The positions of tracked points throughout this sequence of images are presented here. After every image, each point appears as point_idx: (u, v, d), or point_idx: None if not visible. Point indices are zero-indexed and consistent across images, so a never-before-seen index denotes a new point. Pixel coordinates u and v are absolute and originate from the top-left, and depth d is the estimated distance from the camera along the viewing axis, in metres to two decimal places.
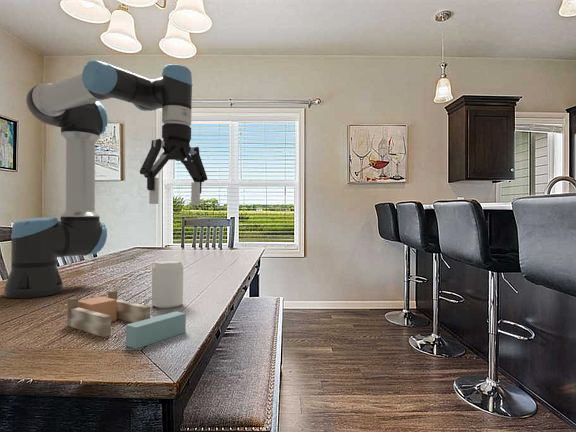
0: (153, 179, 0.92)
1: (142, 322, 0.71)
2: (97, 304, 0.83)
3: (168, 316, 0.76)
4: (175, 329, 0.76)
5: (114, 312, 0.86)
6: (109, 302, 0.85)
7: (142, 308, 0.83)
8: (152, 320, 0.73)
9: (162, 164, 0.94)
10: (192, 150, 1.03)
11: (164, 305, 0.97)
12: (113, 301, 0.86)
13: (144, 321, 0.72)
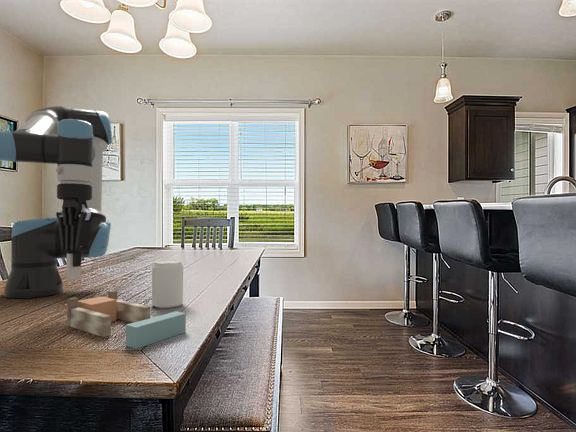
0: None
1: (142, 322, 0.71)
2: (97, 304, 0.83)
3: (168, 316, 0.76)
4: (175, 329, 0.76)
5: (114, 312, 0.86)
6: (109, 302, 0.85)
7: (142, 308, 0.83)
8: (152, 320, 0.73)
9: (66, 235, 0.90)
10: None
11: (164, 305, 0.97)
12: (113, 301, 0.86)
13: (144, 321, 0.72)
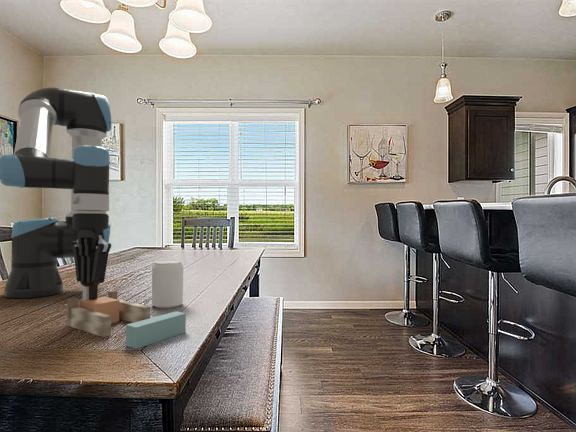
0: (84, 287, 0.87)
1: (142, 322, 0.71)
2: (100, 304, 0.82)
3: (168, 316, 0.76)
4: (175, 329, 0.76)
5: (117, 312, 0.86)
6: (112, 302, 0.84)
7: (142, 308, 0.83)
8: (152, 320, 0.73)
9: (82, 266, 0.87)
10: None
11: (164, 305, 0.97)
12: (116, 301, 0.85)
13: (144, 321, 0.72)
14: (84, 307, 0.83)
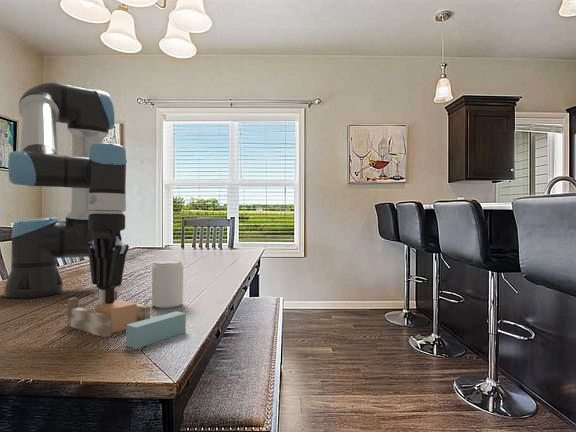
0: None
1: (142, 322, 0.71)
2: (117, 309, 0.79)
3: (168, 316, 0.76)
4: (175, 329, 0.76)
5: (134, 317, 0.82)
6: (129, 306, 0.81)
7: (142, 308, 0.83)
8: (152, 320, 0.73)
9: (98, 268, 0.83)
10: None
11: (164, 305, 0.97)
12: (133, 305, 0.82)
13: (144, 321, 0.72)
14: (100, 311, 0.79)
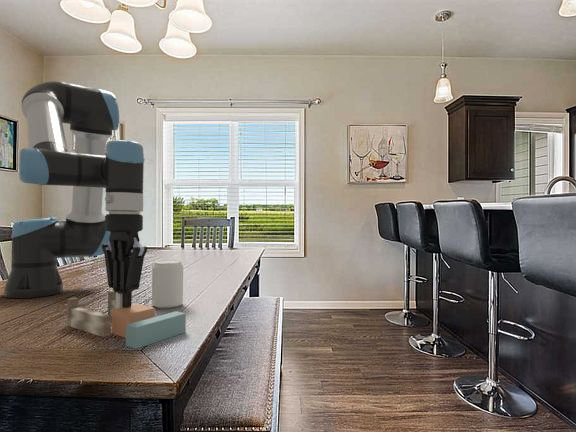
0: None
1: (142, 322, 0.71)
2: (135, 313, 0.75)
3: (168, 316, 0.76)
4: (175, 329, 0.76)
5: None
6: (147, 311, 0.78)
7: None
8: (152, 320, 0.73)
9: (115, 271, 0.80)
10: None
11: (164, 305, 0.97)
12: (151, 309, 0.78)
13: (144, 321, 0.72)
14: (118, 316, 0.76)
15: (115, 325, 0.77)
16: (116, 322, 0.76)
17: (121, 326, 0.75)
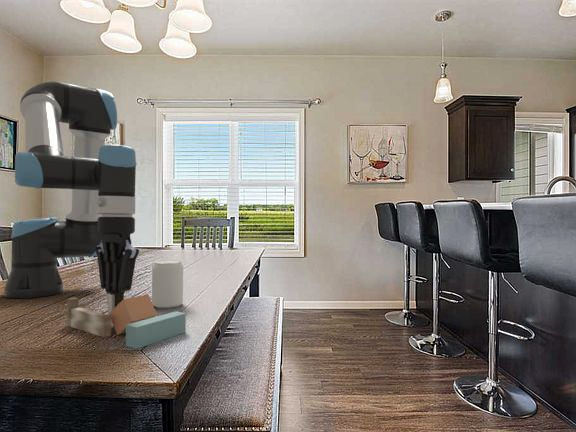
0: None
1: (142, 322, 0.71)
2: (129, 299, 0.76)
3: (168, 316, 0.76)
4: (175, 329, 0.76)
5: (151, 306, 0.79)
6: (141, 297, 0.79)
7: None
8: (152, 320, 0.73)
9: (107, 272, 0.82)
10: (127, 250, 0.79)
11: (164, 305, 0.97)
12: (145, 296, 0.80)
13: (144, 321, 0.72)
14: (115, 313, 0.76)
15: (116, 323, 0.76)
16: (116, 320, 0.76)
17: (122, 318, 0.75)
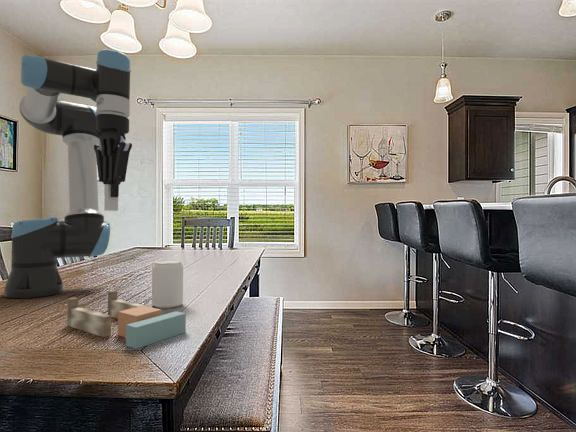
0: None
1: (142, 322, 0.71)
2: (142, 315, 0.74)
3: (168, 316, 0.76)
4: (175, 329, 0.76)
5: None
6: (154, 312, 0.77)
7: None
8: (152, 320, 0.73)
9: (104, 166, 0.92)
10: None
11: (164, 305, 0.97)
12: (158, 311, 0.77)
13: (144, 321, 0.72)
14: (124, 318, 0.75)
15: (121, 327, 0.75)
16: (122, 324, 0.75)
17: None
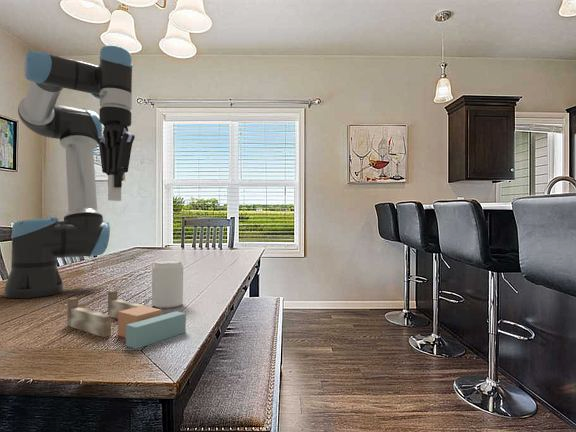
0: None
1: (142, 322, 0.71)
2: (142, 315, 0.74)
3: (168, 316, 0.76)
4: (175, 329, 0.76)
5: None
6: (154, 312, 0.77)
7: None
8: (152, 320, 0.73)
9: (107, 157, 0.95)
10: None
11: (164, 305, 0.97)
12: (158, 311, 0.77)
13: (144, 321, 0.72)
14: (124, 318, 0.75)
15: (121, 327, 0.75)
16: (122, 324, 0.75)
17: None
